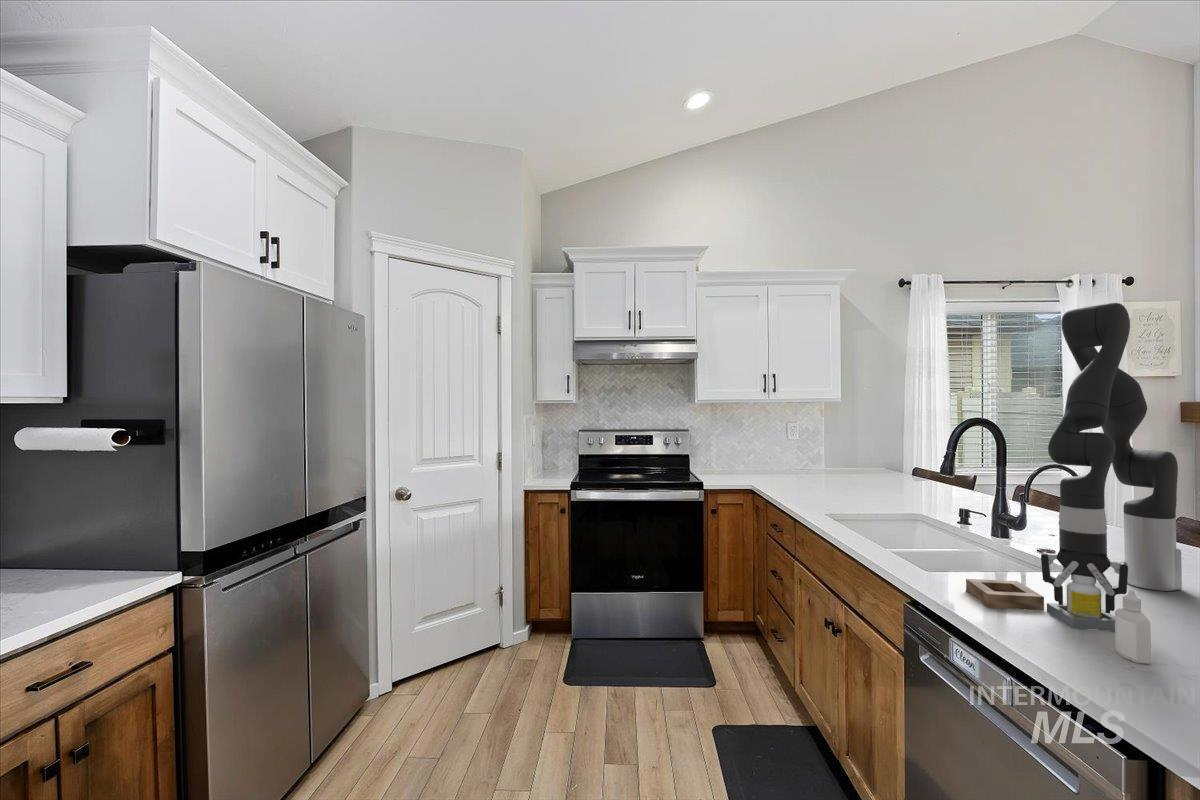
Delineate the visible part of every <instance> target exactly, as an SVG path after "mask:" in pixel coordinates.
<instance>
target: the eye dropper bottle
mask: <svg viewBox="0 0 1200 800" xmlns="http://www.w3.org/2000/svg"><path fill="white" fill-rule="evenodd" d="M1127 592H1128V593H1127V595H1123V596H1122V608H1121V607H1120V608H1118V609H1117V608H1116V609H1115V610H1114V616H1115V631H1114V645H1115V646H1114V647H1115V651H1116V653H1117V654H1118V655H1119V656H1121V657H1122V658H1124V659H1125V660H1128V661H1130V660H1131V662H1133V663H1136V664H1144V665H1145V664H1147V665H1149V664H1151V663H1152V636H1151V635H1152V631H1151V629H1152V628H1151V627H1152V626H1151V621H1150V619H1149V618H1148V617H1147V615H1145V613H1144V612H1142V599H1141V598H1140V597H1137V595H1136V592H1135V590H1133V589H1129V590H1128V591H1127Z"/></svg>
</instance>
